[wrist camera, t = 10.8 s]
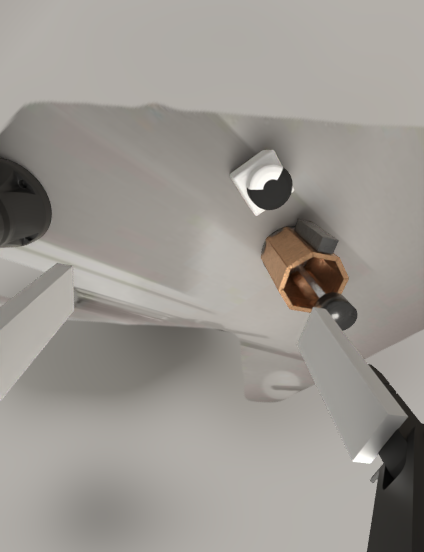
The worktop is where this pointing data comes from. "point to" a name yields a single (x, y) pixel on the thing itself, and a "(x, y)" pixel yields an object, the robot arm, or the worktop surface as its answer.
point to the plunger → (330, 301)
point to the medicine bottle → (263, 182)
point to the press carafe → (295, 250)
